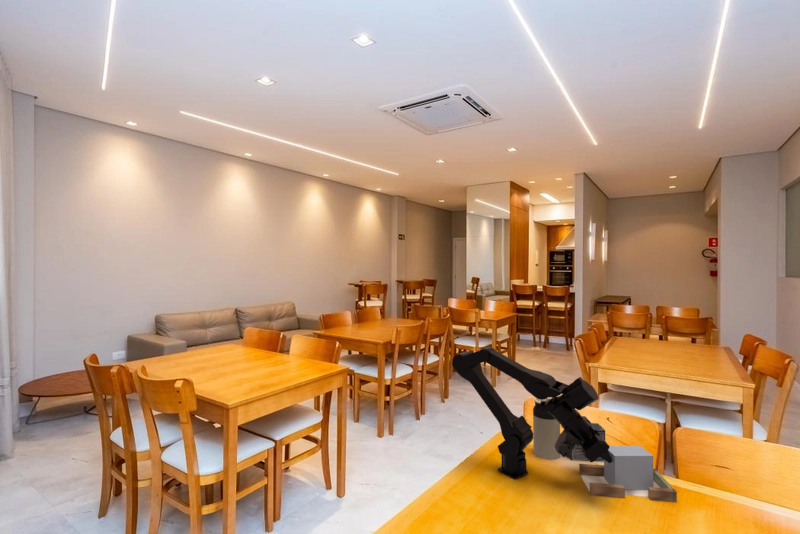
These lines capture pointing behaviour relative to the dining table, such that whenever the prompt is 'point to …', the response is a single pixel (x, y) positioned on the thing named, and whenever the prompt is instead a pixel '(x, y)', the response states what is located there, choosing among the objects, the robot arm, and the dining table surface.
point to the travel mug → (545, 433)
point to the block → (629, 467)
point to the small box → (577, 451)
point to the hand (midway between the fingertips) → (610, 461)
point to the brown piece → (601, 487)
